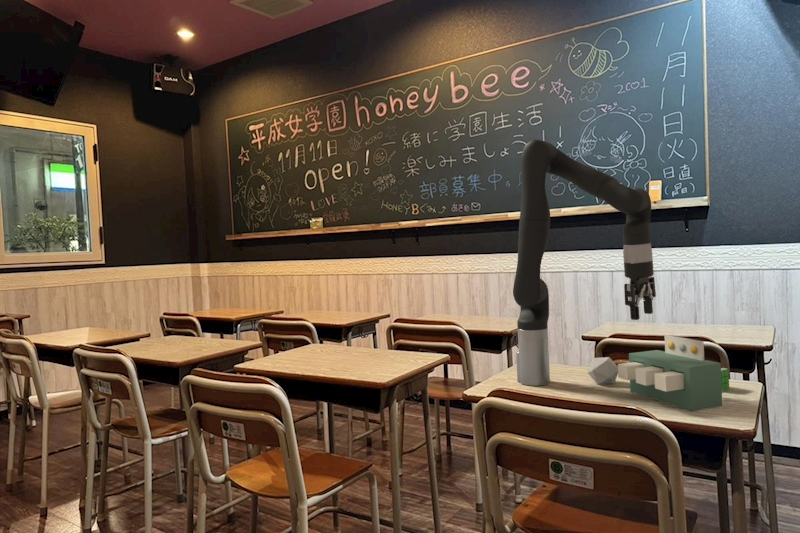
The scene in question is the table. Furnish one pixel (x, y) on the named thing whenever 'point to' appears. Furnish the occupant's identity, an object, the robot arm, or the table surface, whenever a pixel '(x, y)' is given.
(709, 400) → the console
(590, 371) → the die
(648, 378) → the button mid
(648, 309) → the robot arm
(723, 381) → the puzzle toy
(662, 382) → the button right
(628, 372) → the button left
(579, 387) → the table surface
